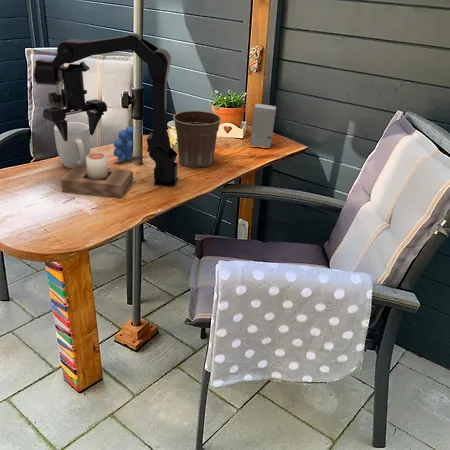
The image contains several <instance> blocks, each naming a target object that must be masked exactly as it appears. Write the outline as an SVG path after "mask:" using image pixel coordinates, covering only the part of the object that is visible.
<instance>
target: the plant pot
mask: <svg viewBox="0 0 450 450" xmlns="http://www.w3.org/2000/svg"><path fill="white" fill-rule="evenodd" d="M172 120H173V121H174V127H175V128H174V130H176V131H175V132H176V142H177V151H178V152H177V156H178V162H179V163H180V165H182V166H184V167H187V168H193V169H195V168H196V169H197V168H201V167H202V168H207V167H209V166H212V165H213V164H214V158H215V151H216V143H217V135H218V132H219V130H220V128H219V127H220V123H221V121H222V117H221V116H220V115H219V114H216V113H213V112H209V111H203V110H202V111H201V110H186V111H180V112H177V113H175V114H174V115H173V116H172Z"/></svg>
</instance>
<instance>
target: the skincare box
mask: <svg viewBox="0 0 450 450" xmlns="http://www.w3.org/2000/svg"><path fill="white" fill-rule="evenodd" d="M276 112H277V105H276V106H275V105H270V104H263V103H255V105H254V107H253V115H252V122H251V123H252V124H251V130H250V131H251V132H250V140H249V146H250V145H253V146H264V147H270V146H272V141H273V133H274V127H275V119H276V118H275V117H276ZM270 148H271V147H270Z"/></svg>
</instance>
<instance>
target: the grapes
mask: <svg viewBox="0 0 450 450" xmlns="http://www.w3.org/2000/svg"><path fill="white" fill-rule="evenodd" d="M133 129H134V128H133V126H132V125H128V126H126V127H125V129H121V130H119V132H118V138H116V139H114V141H113V146H114V150H113V156H114V157H116V158H117V160H118V162H121V163H123V162H124V161H131V160H132V158H133V155H134V154H133Z"/></svg>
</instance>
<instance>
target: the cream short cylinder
mask: <svg viewBox="0 0 450 450" xmlns="http://www.w3.org/2000/svg"><path fill="white" fill-rule="evenodd" d="M85 166H87V176H88V178H90V179H96V180H97V179H104V178H106V177H108V156H107V155H106V154H104V153H99V152H97V153H96V152H95V153H90V154H89V155H87V156H86V165H85Z"/></svg>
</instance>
